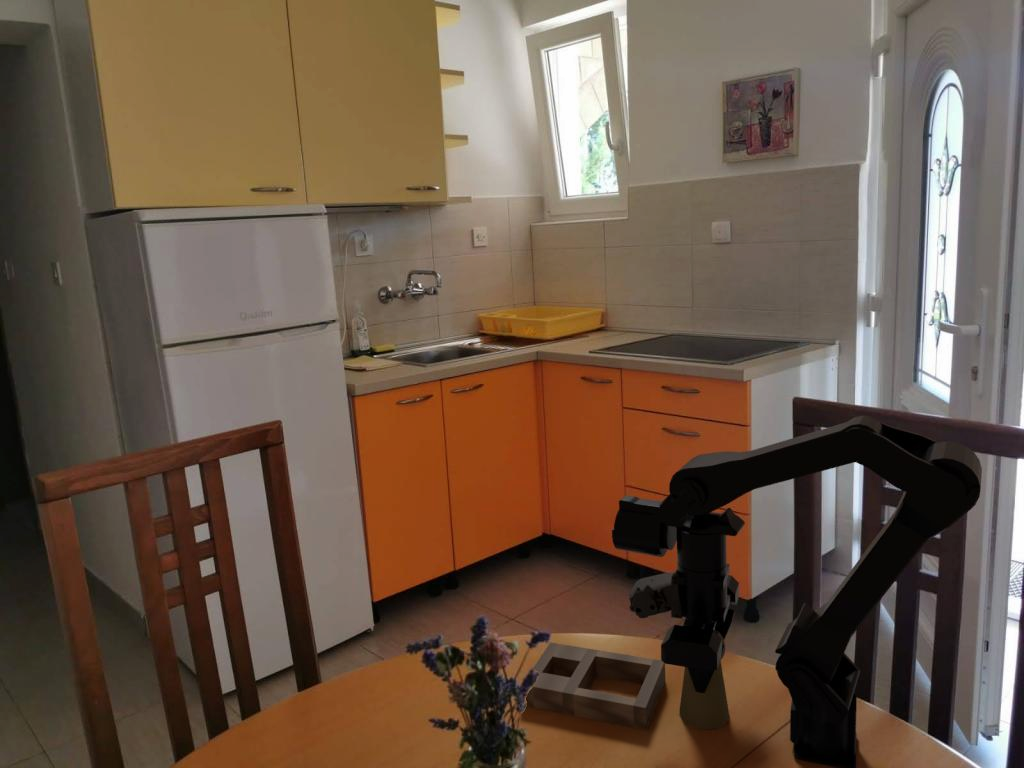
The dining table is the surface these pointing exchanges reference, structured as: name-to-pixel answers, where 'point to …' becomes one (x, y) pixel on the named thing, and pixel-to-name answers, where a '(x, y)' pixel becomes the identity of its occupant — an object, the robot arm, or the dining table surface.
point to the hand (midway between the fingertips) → (703, 680)
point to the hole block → (574, 673)
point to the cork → (705, 701)
